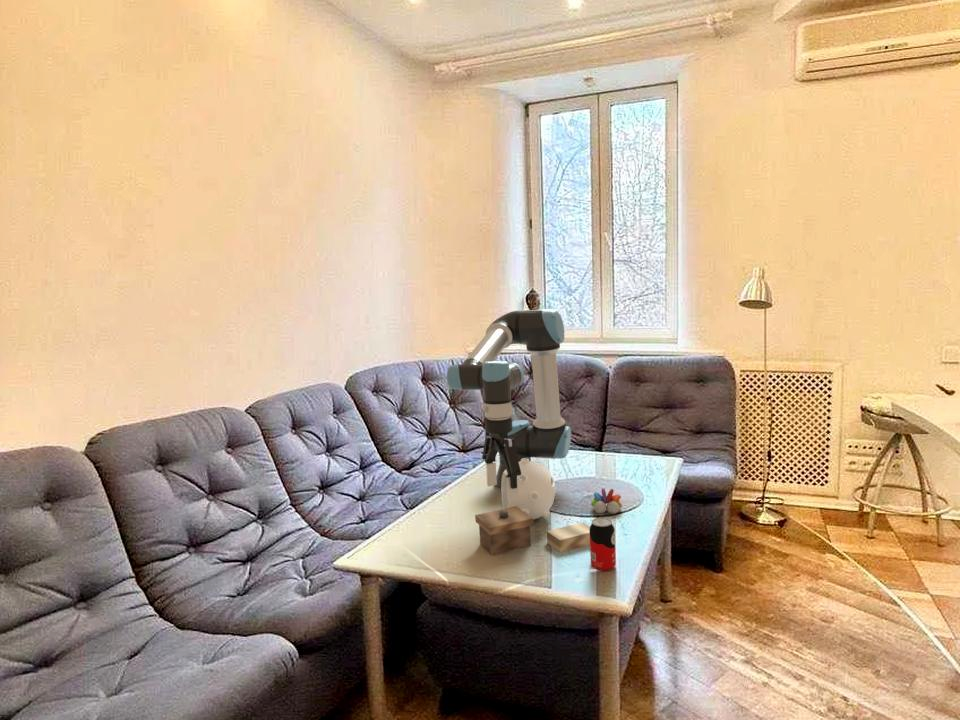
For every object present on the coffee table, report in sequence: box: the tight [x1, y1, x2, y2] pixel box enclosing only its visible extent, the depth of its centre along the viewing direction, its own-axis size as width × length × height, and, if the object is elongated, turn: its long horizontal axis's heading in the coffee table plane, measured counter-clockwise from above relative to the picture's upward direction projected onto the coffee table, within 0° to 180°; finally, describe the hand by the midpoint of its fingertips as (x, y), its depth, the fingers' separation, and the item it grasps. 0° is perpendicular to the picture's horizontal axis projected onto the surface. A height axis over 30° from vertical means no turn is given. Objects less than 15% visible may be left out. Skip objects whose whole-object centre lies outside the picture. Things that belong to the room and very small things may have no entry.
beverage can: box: [589, 517, 617, 572], centre depth 152 cm, size 6×6×12 cm
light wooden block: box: [546, 522, 591, 553], centre depth 166 cm, size 12×7×4 cm, turn 113°
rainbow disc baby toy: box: [590, 487, 623, 515], centre depth 189 cm, size 8×10×7 cm
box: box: [478, 524, 532, 556], centre depth 166 cm, size 12×8×7 cm, turn 113°
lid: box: [474, 506, 534, 535], centre depth 166 cm, size 13×10×3 cm
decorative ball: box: [500, 458, 556, 521], centre depth 184 cm, size 20×17×20 cm
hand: (502, 492), depth 165 cm, fingers open, 13 cm apart
